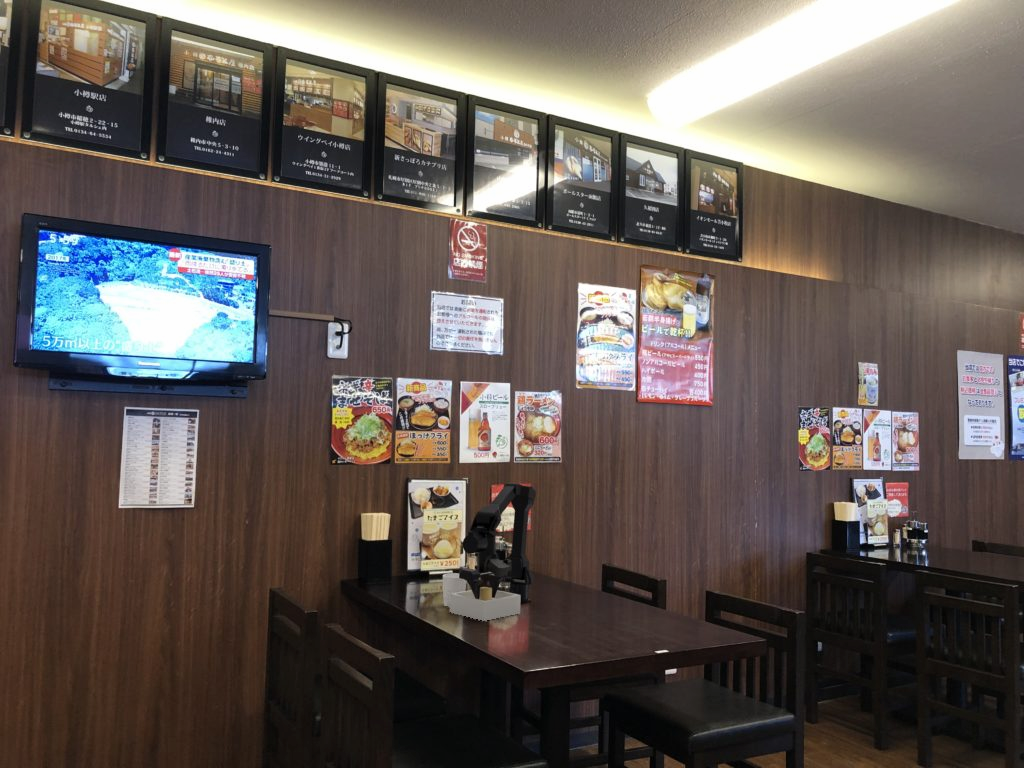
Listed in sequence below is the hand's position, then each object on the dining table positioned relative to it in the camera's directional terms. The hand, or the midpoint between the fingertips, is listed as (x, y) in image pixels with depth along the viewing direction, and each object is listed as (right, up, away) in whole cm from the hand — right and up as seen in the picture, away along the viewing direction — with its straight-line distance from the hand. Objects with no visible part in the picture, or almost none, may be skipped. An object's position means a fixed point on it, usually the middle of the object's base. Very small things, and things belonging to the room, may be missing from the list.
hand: (485, 599), depth 258 cm
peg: (0, -5, 0) cm, 5 cm away
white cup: (-11, -5, +10) cm, 16 cm away
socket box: (0, -5, 0) cm, 4 cm away
